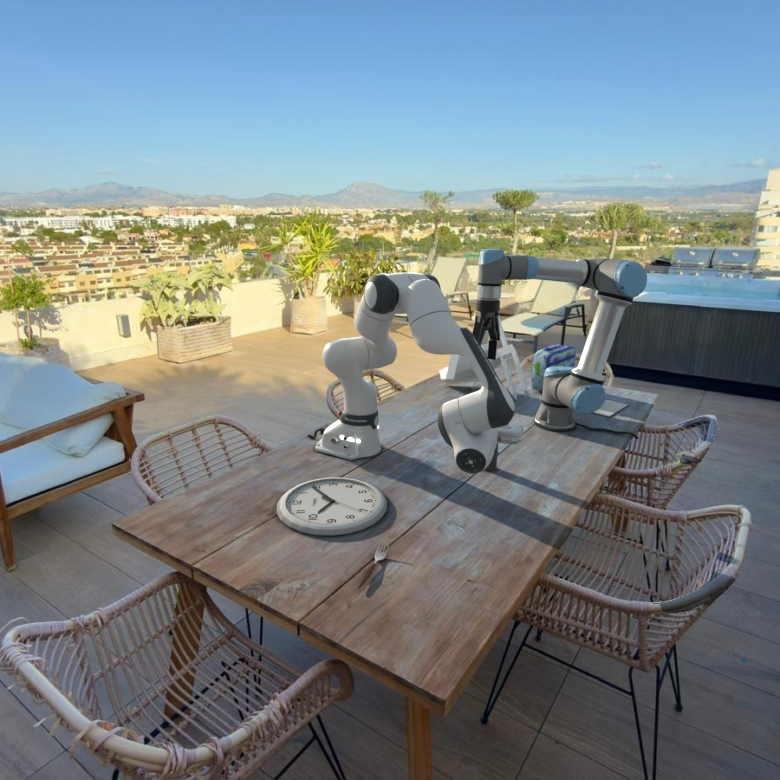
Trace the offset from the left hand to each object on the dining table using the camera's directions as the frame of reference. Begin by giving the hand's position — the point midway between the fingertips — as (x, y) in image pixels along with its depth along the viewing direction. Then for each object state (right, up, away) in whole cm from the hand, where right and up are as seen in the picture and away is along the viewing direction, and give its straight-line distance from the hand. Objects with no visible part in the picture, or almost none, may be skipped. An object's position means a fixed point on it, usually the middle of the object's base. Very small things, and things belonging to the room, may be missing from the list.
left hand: (488, 419), depth 148 cm
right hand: (+3, +17, +25) cm, 31 cm away
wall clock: (-44, -23, -5) cm, 50 cm away
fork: (-32, -32, -32) cm, 55 cm away
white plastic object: (+14, +7, +95) cm, 96 cm away
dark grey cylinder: (+4, -17, +18) cm, 25 cm away
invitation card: (+64, +1, +78) cm, 101 cm away
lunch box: (+49, +9, +102) cm, 113 cm away
